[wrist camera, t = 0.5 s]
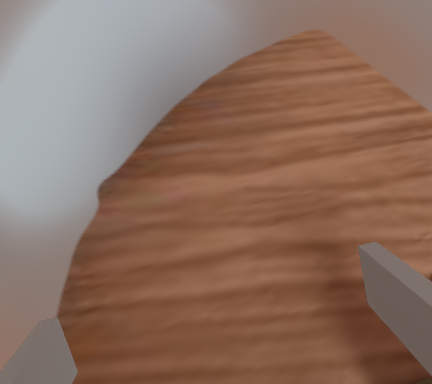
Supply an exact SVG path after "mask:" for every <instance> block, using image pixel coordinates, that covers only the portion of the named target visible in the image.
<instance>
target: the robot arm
mask: <svg viewBox="0 0 432 384" xmlns="http://www.w3.org/2000/svg"><path fill="white" fill-rule="evenodd" d="M358 248H359V254H360V260H361V266H362V273H363V279H364V285H365V291H366V297H367V304H368V305H369V306H370V307H371V308H372V309H373V310H374V312H375V313H376V314H377V315H378V316H379V317H380V318H381V320H382V321H383V322H384V323H385V324H386V325H387V326H388V327H389V329H390V330H391V331H392V332H393V333H394V334H395V335H396V336H397V338H398V339H399V340H400V341H401V342H402V343H403V344H404V346H405V347H406V348H407V349H408V350H409V351H410V352H411V353H412V355H413V356H414V357H415V358H416V359H417V360H418V361H419V363H420V364H421V365H422V366H423V367H424V368H425V369H426V370H427V372H428V373H429V374H430V375H431V376H432V282H431V281H430V280H429V279H427V278H426V277H424V276H423V275H422V274H420V273H419V272H417V271H416V270H415V269H413V268H412V267H411V266H409V265H408V264H406V263H405V262H404V261H402V260H401V259H399V258H398V257H397V256H395V255H394V254H392V253H391V252H390V251H388V250H387V249H385V248H384V247H383V246H381V245H380V244H378V243H377V242H373V243H368V244H364V245H360V246H358ZM77 373H78V371H77V368H76V366H75V363H74V360H73V357H72V355H71V352H70V349H69V347H68V344H67V341H66V339H65V336H64V333H63V330H62V328H61V325H60V322H59V320H58V317H57V318H52V319H48V320H45V321H41V322H39V324H38V325H37V326H36V328H35V329H34V330H33V331H32V332H31V334H30V335H29V336H28V337H27V339H26V340H25V341H24V342H23V344H22V345H21V346H20V347H19V349H18V350H17V351H16V353H15V354H14V355H13V356H12V358H11V359H10V360H9V361H8V363H7V364H6V365H5V366H4V368H3V369H2V370H1V371H0V384H72V383H73V381H74V379H75V377H76V375H77Z"/></svg>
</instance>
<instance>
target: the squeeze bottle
mask: <svg viewBox="0 0 432 384" xmlns="http://www.w3.org/2000/svg"><path fill="white" fill-rule="evenodd" d="M415 384H432V378H430V379H424V380H422V381H419V382H417V383H415Z"/></svg>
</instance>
